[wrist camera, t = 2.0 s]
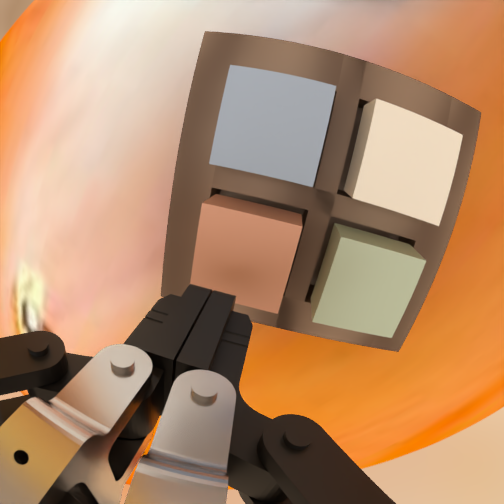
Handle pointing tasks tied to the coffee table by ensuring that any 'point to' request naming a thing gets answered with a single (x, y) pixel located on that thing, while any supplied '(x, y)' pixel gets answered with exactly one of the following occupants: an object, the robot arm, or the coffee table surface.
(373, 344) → the keypad housing
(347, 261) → the sage key
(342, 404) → the coffee table surface
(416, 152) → the cream key
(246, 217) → the terracotta key
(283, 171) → the slate key
